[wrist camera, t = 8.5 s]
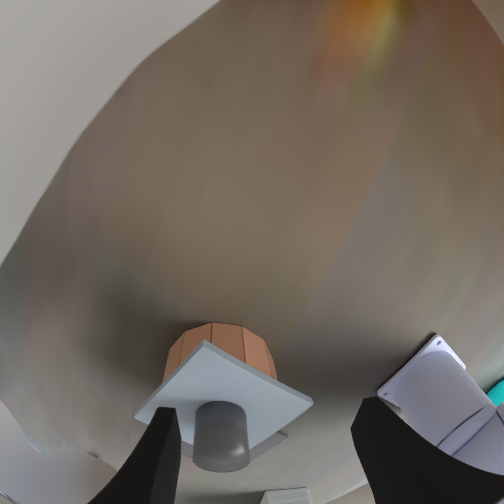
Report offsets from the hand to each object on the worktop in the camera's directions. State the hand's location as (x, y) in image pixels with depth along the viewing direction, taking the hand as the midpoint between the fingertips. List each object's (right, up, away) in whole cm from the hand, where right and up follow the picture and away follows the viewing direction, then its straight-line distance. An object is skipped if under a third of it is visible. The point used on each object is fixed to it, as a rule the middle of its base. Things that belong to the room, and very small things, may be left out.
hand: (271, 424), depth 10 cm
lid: (-3, -4, +7) cm, 9 cm away
